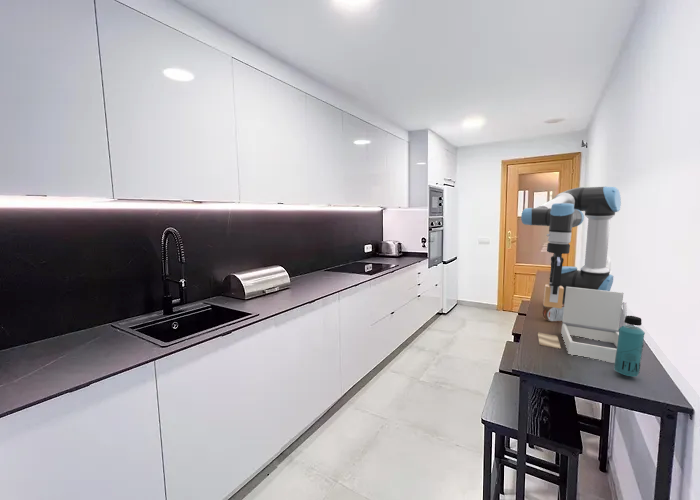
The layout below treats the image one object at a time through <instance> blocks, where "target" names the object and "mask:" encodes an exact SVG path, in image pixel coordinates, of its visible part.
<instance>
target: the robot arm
mask: <svg viewBox="0 0 700 500" xmlns="http://www.w3.org/2000/svg"><path fill="white" fill-rule="evenodd" d="M621 199H622V197H621V192H620V190H619V189H618V188H617V187H615V186H588V187H583V186H581V187H574V188H571V189H567V190H565V191H562V192H559V193H558V194H556V195H555V196H554V197H553V199H550V200H548V201H547V202H545V203H543V204H541V205H538V206H537V207H534V208H533V207H526V208H524V209H522V212H521V216H520V217H521V223H522V224H523V225H525V226H541V227H542V226H544V227H549V228H548V233H546V236H547V237H548V238H547V241H548V243H547V244H546V245H547V246H546V251H547V253H549V254H553V255H552V256H551V257H550V274H549V283H550V286H551V291H550V302H555V303H558V295H559V286H563V288H564V292H563V301H562V304H564V303H565V294H566V287H575V288H585V289H594V290H603V291H611V289H612V286H613V283H614V275H613V274H610V269H609V268H608V267H607V259H608V249H609V247H608V246H609V237H610V228H611V219H613V217H615V215H616V213H619V211H620V210H621V206H622V205H621V204H622V200H621ZM584 216H585V217H586V218H587V230H586V232H587V233H586V243H585V255H584V256H585V257H584V258H585V259H584V265H583V266H582V267H580V270H578V267H577V266H573V265H572V266H568V265H567V266H564V265H563V263H564V257H563V255H568V254H569V253H570V250H571V249H570V248H571V244H570V243H571V241H572V235H573V234H572V232H573V231H572V230H573V228H576V227H578V226H580V225H582V224H583V222H584V220H585V217H584ZM543 307H544V308H545V307H546V306H544V304H543Z"/></svg>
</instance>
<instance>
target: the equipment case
mask: <svg viewBox="0 0 700 500" xmlns="http://www.w3.org/2000/svg"><path fill="white" fill-rule="evenodd" d="M623 298H624V292H621V291H611V290H610V291H603V290H594V289H585V288H575V287H566V294H565V303H564V312H563V321H562V322H561V333H560V335H561V334H562V335H561V337H563V338H562V340H564V341H563V343H564V342H565V343H564V346H565V345H566V346H565V349H566V348H567V349H566V352H567V351H568V352H567V354H571V355H570V356H573V355H578V356H584V357H590V358H594V359H599V360H598V361H600V360H602V361H601V362H605V361H606V362H607V363H610V364H611V363H612V364H615V358H616V356H615V355H616V351H617V344H618V336H619V328H620V323H621V316H622V319H623V320H622V321H623V326H624V325H629V324H627V323H625V322H624V321H625V317H626V316H628V309H627V308H628V307H627V306H628V305H627V302H623V301H624V299H623ZM570 335H575V336H580V337H585V338H589V339H588V340H592V339H594V340H593V341H598V340H600V341H599V342H603V343H604V342H605V343H610V344H613V345H615V347H616V348H614V347H609V346H600V345H596V344H589V343H583V342H580V341H579V342H578V341H573V338H572V336H570ZM585 338H584V339H585ZM578 356H577V357H578ZM594 359H593V360H594Z"/></svg>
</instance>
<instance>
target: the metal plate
mask: <svg viewBox="0 0 700 500" xmlns="http://www.w3.org/2000/svg"><path fill="white" fill-rule="evenodd" d="M537 338H538V344H539V346H543V347H546V348H547V347H548V348H551V349H552V348H553V349H558V348H559V350H562V347H561V344H560V341H559V337H558V335H556V334H550V333H549V334H548V333H542V332H537Z"/></svg>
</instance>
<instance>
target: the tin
mask: <svg viewBox="0 0 700 500" xmlns="http://www.w3.org/2000/svg"><path fill="white" fill-rule="evenodd" d="M563 312H564V304H562V309H561V308H554V307H544V308H543V309H542V317H543V319H544V320H547V321H548V322H551V323H555V322H557V321H563Z"/></svg>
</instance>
